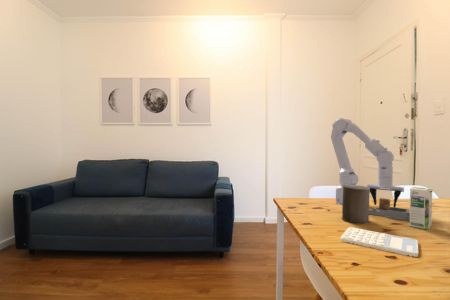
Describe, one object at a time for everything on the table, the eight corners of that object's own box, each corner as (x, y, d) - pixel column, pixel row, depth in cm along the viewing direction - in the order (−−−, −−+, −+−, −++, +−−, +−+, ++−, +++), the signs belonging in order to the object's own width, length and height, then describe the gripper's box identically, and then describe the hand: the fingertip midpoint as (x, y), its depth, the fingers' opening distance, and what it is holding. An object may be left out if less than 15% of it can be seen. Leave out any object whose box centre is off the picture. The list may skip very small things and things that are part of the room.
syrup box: (408, 226, 96) (409, 187, 96) (413, 223, 100) (414, 186, 99) (427, 230, 92) (428, 190, 91) (431, 226, 95) (432, 188, 95)
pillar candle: (341, 221, 101) (342, 184, 101) (342, 215, 110) (343, 180, 109) (369, 225, 97) (370, 186, 96) (368, 218, 105) (369, 182, 105)
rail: (357, 214, 112) (357, 206, 112) (360, 210, 118) (360, 203, 118) (409, 222, 101) (409, 213, 101) (409, 217, 107) (409, 209, 107)
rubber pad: (375, 210, 119) (375, 209, 119) (376, 207, 125) (376, 206, 125) (393, 212, 115) (393, 211, 115) (393, 209, 121) (393, 208, 121)
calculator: (348, 231, 92) (348, 225, 92) (417, 244, 80) (418, 238, 80) (339, 242, 81) (339, 236, 81) (418, 259, 69) (418, 252, 69)
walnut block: (379, 208, 120) (379, 199, 119) (380, 207, 123) (380, 197, 123) (389, 210, 117) (389, 200, 117) (389, 208, 120) (390, 199, 120)
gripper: (366, 176, 121) (366, 205, 121) (403, 178, 112) (403, 209, 112) (368, 175, 126) (368, 202, 127) (404, 177, 118) (403, 206, 118)
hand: (384, 205), depth 120 cm, fingers open, 7 cm apart
